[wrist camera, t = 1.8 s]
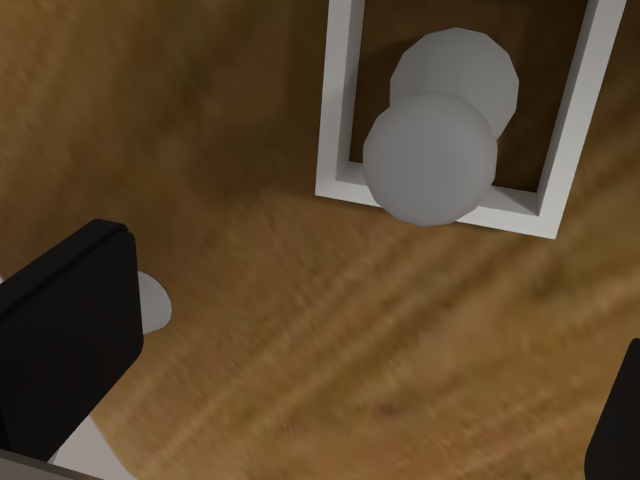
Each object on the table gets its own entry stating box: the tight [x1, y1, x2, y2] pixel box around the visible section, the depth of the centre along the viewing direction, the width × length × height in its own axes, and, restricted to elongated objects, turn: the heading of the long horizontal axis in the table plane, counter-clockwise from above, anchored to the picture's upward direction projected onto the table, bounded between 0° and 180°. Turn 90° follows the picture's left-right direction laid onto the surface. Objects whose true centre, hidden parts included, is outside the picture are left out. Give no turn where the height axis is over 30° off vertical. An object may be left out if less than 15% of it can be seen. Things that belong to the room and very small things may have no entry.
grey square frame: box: [315, 0, 627, 239], centre depth 28 cm, size 12×12×3 cm
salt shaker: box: [363, 27, 519, 227], centre depth 24 cm, size 6×6×13 cm
